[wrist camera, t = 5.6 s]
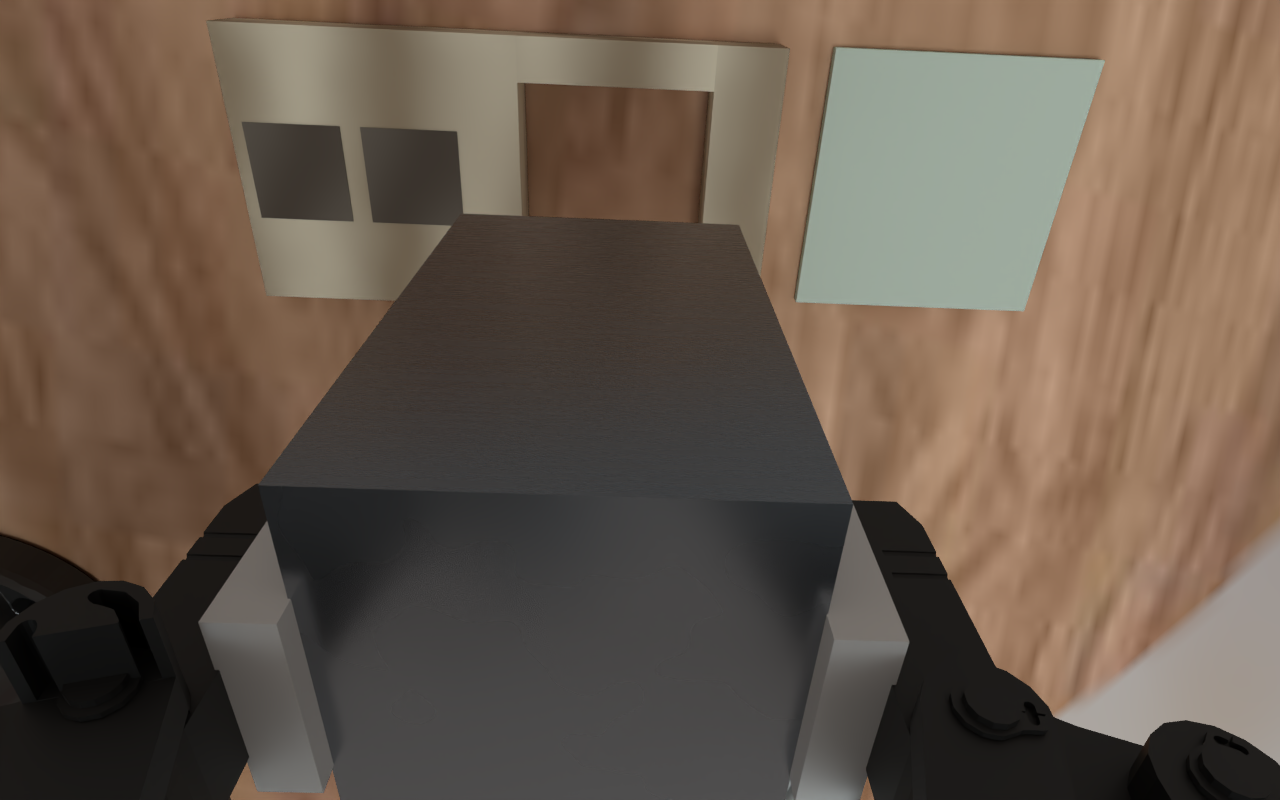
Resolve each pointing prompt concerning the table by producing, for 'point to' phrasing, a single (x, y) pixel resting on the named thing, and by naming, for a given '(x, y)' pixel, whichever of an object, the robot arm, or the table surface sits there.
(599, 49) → the plate
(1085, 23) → the table surface
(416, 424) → the block
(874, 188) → the mat
